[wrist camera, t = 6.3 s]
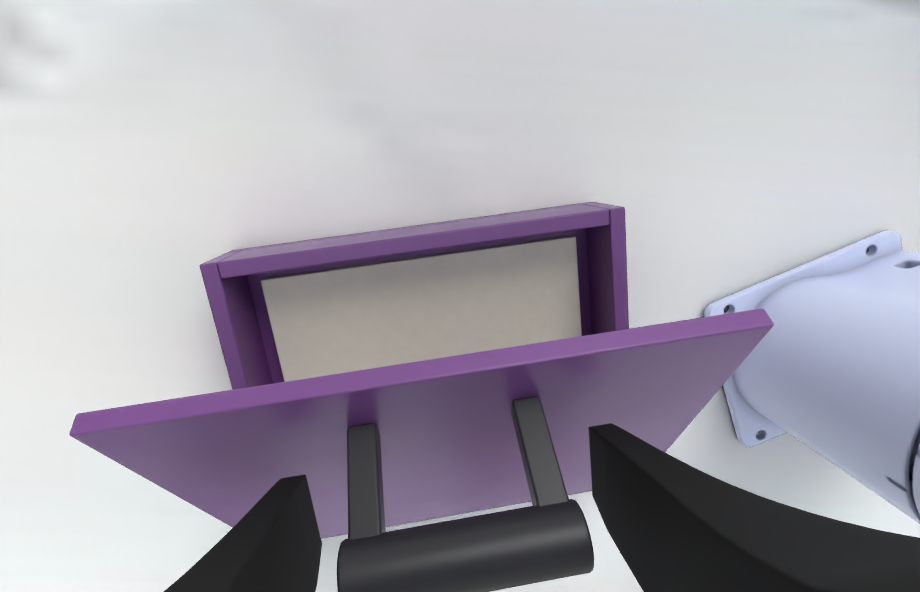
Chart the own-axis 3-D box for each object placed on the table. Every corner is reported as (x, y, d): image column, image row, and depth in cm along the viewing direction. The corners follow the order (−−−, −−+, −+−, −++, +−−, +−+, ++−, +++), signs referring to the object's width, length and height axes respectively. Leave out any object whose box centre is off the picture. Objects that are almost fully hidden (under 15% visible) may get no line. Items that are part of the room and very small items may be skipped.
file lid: (74, 413, 10) (-15, 670, 7) (764, 306, 11) (895, 501, 9) (269, 534, 19) (259, 668, 17) (635, 470, 20) (678, 587, 18)
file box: (231, 250, 20) (198, 265, 17) (593, 201, 21) (625, 206, 18) (289, 486, 23) (271, 536, 20) (604, 433, 24) (634, 472, 21)
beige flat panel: (263, 277, 20) (259, 280, 19) (572, 234, 20) (576, 236, 20) (308, 467, 22) (305, 473, 21) (583, 421, 23) (587, 426, 22)
